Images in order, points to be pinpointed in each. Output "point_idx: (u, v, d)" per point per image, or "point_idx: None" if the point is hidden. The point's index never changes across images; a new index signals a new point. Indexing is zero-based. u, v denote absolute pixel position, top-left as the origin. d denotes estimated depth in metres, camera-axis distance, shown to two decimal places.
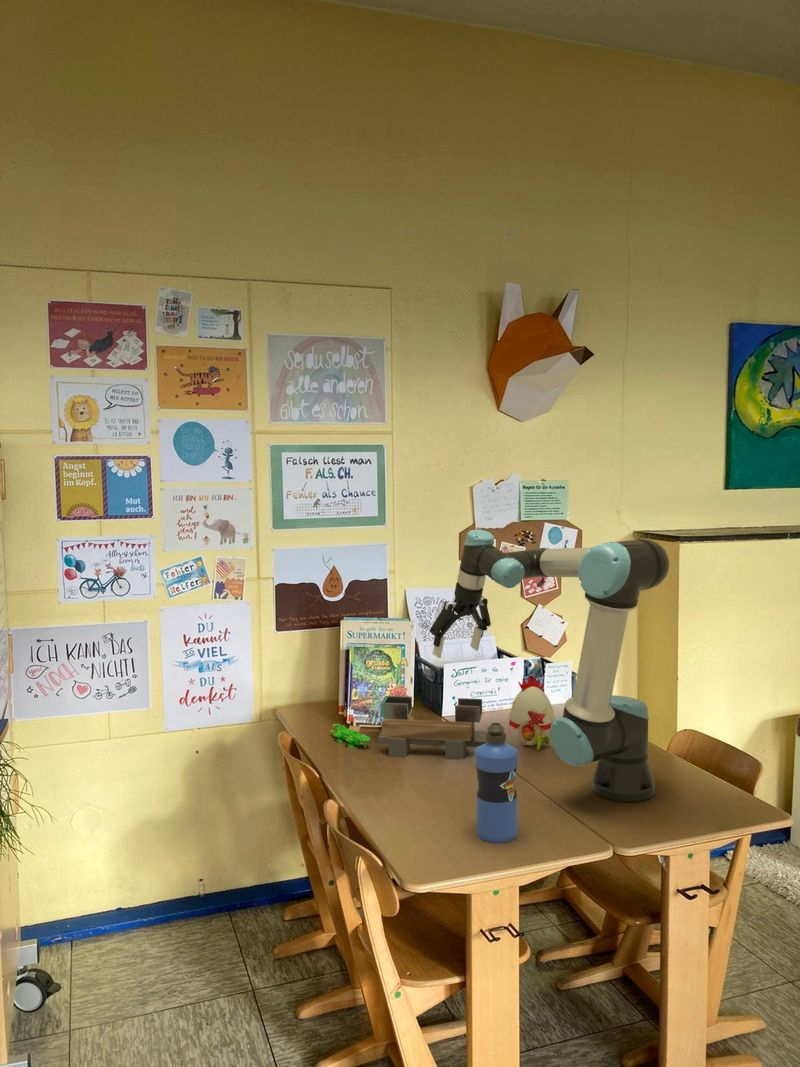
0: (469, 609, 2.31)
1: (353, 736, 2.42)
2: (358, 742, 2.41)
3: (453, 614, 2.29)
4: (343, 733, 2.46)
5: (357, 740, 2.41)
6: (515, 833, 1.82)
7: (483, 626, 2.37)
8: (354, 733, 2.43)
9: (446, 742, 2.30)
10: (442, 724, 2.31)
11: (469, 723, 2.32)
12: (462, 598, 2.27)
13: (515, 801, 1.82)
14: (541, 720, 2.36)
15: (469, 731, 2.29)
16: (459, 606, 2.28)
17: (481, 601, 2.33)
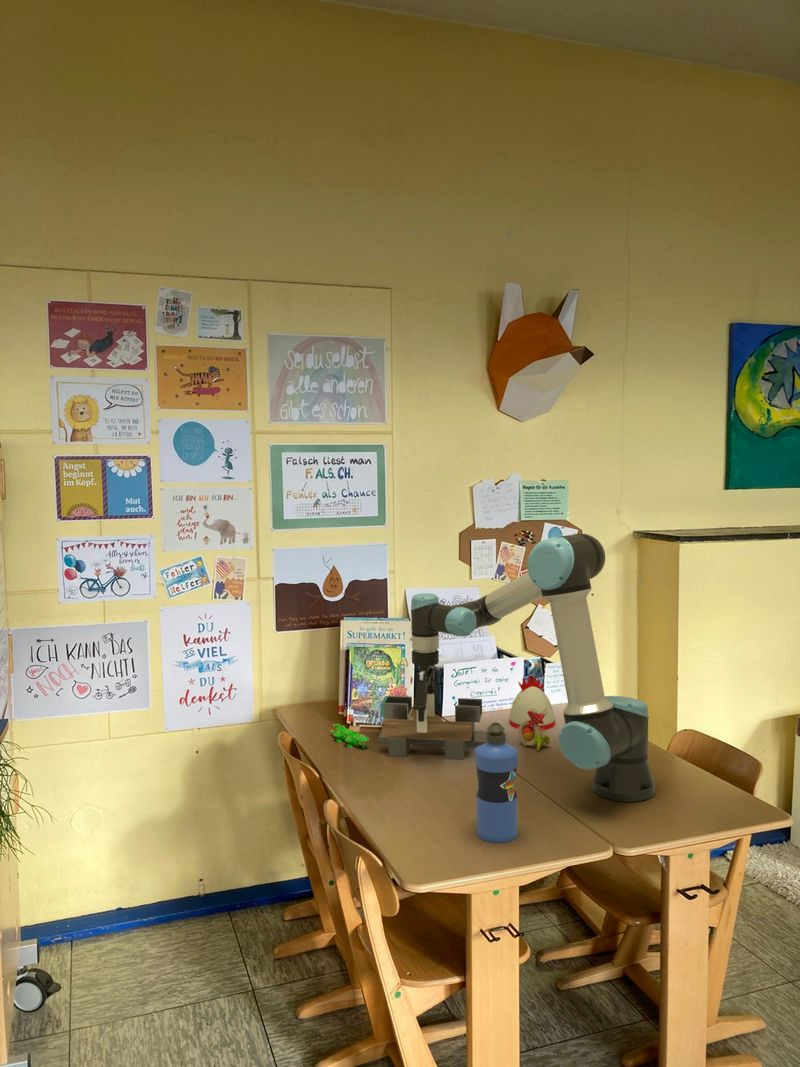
0: None
1: (352, 736, 2.42)
2: (357, 742, 2.41)
3: None
4: (342, 733, 2.46)
5: (356, 740, 2.40)
6: (515, 833, 1.82)
7: (433, 689, 2.40)
8: (353, 733, 2.43)
9: (446, 742, 2.30)
10: (442, 724, 2.31)
11: (469, 723, 2.32)
12: (429, 663, 2.28)
13: (515, 801, 1.82)
14: (541, 720, 2.36)
15: (469, 731, 2.29)
16: (427, 673, 2.28)
17: None
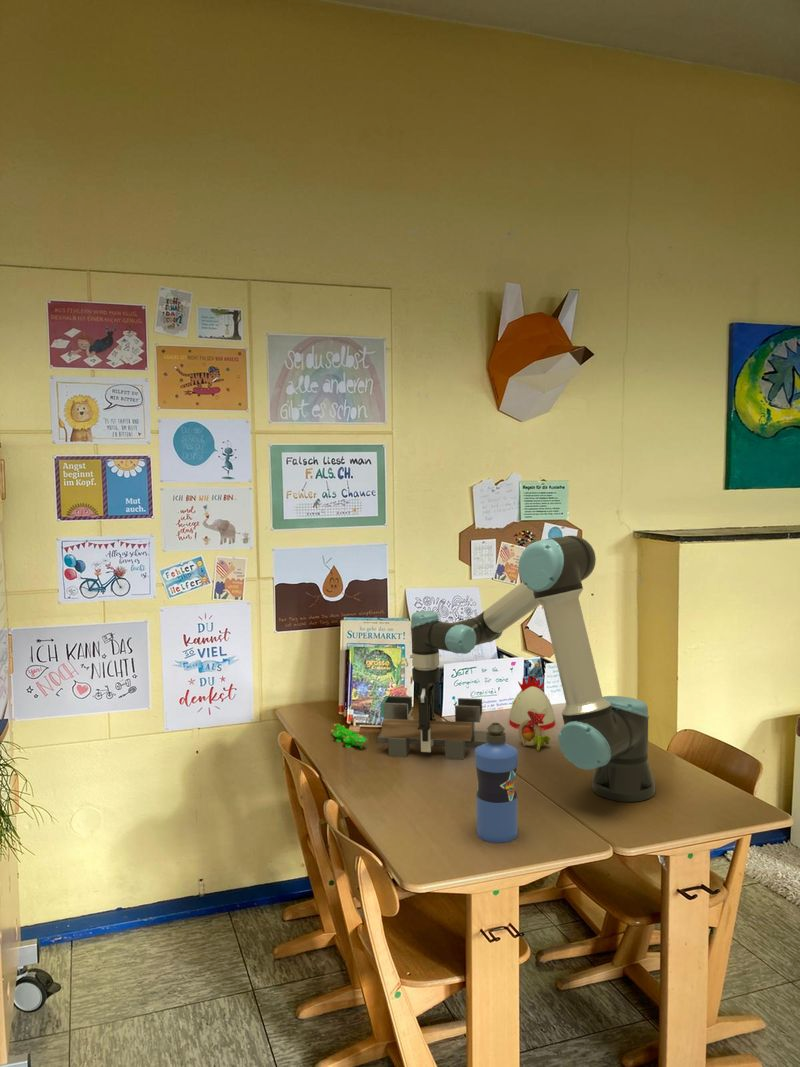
0: None
1: (350, 736, 2.41)
2: (355, 743, 2.40)
3: None
4: (342, 733, 2.46)
5: (354, 741, 2.40)
6: (515, 833, 1.82)
7: (432, 718, 2.36)
8: (352, 734, 2.42)
9: (446, 742, 2.30)
10: (442, 724, 2.31)
11: (469, 723, 2.32)
12: (429, 681, 2.28)
13: (515, 801, 1.82)
14: (541, 720, 2.36)
15: (469, 731, 2.29)
16: (428, 690, 2.29)
17: None
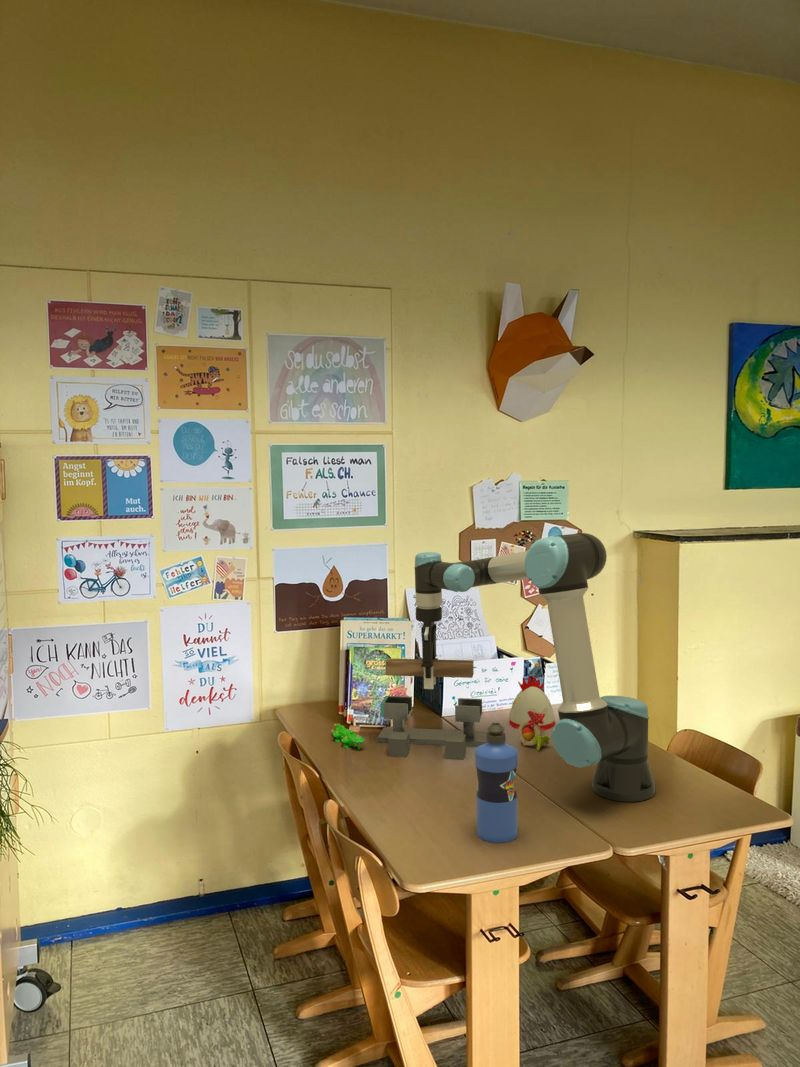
0: None
1: (348, 737, 2.41)
2: (353, 743, 2.40)
3: None
4: (341, 733, 2.45)
5: (352, 741, 2.40)
6: (515, 833, 1.82)
7: None
8: (350, 734, 2.42)
9: (446, 742, 2.30)
10: (444, 662, 2.38)
11: (470, 661, 2.39)
12: (432, 619, 2.35)
13: (515, 801, 1.82)
14: (541, 720, 2.36)
15: (471, 668, 2.36)
16: (431, 628, 2.36)
17: None
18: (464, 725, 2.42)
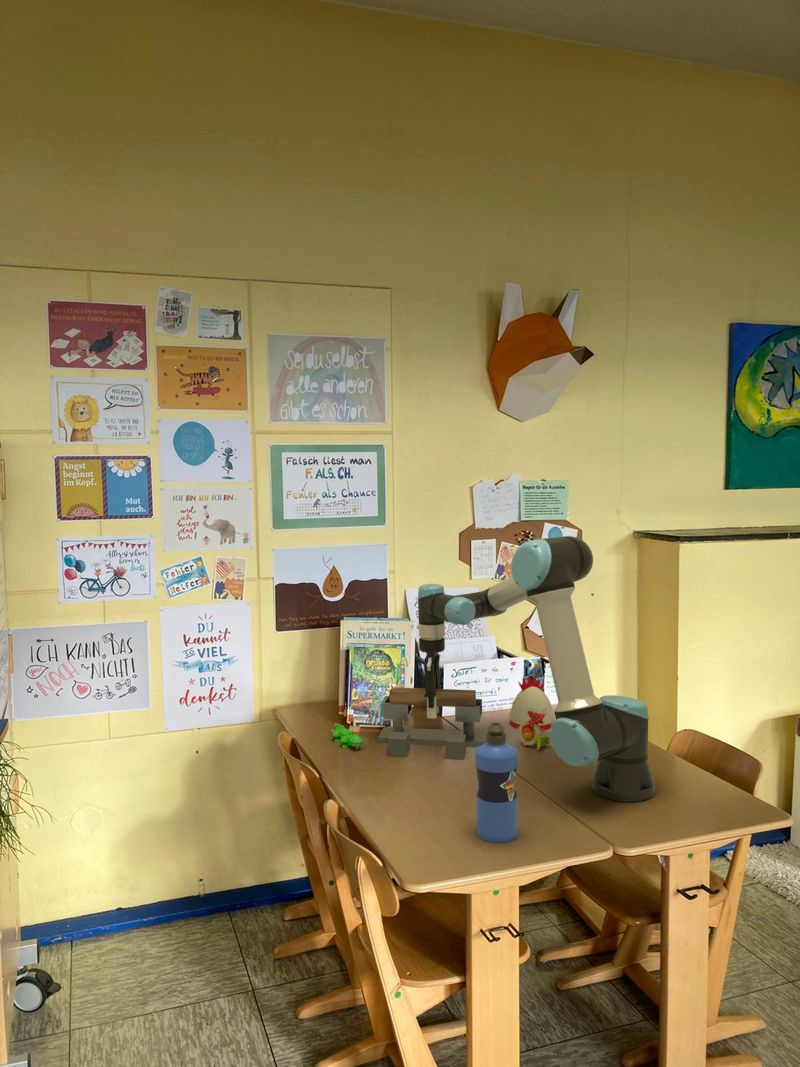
0: None
1: (347, 737, 2.41)
2: (351, 743, 2.40)
3: None
4: (340, 733, 2.46)
5: (350, 741, 2.40)
6: (515, 833, 1.82)
7: (438, 686, 2.47)
8: (349, 734, 2.42)
9: (446, 742, 2.30)
10: (447, 692, 2.43)
11: (473, 691, 2.43)
12: (435, 650, 2.40)
13: (515, 801, 1.82)
14: (541, 720, 2.36)
15: (473, 698, 2.40)
16: (434, 659, 2.40)
17: None
18: (464, 725, 2.42)
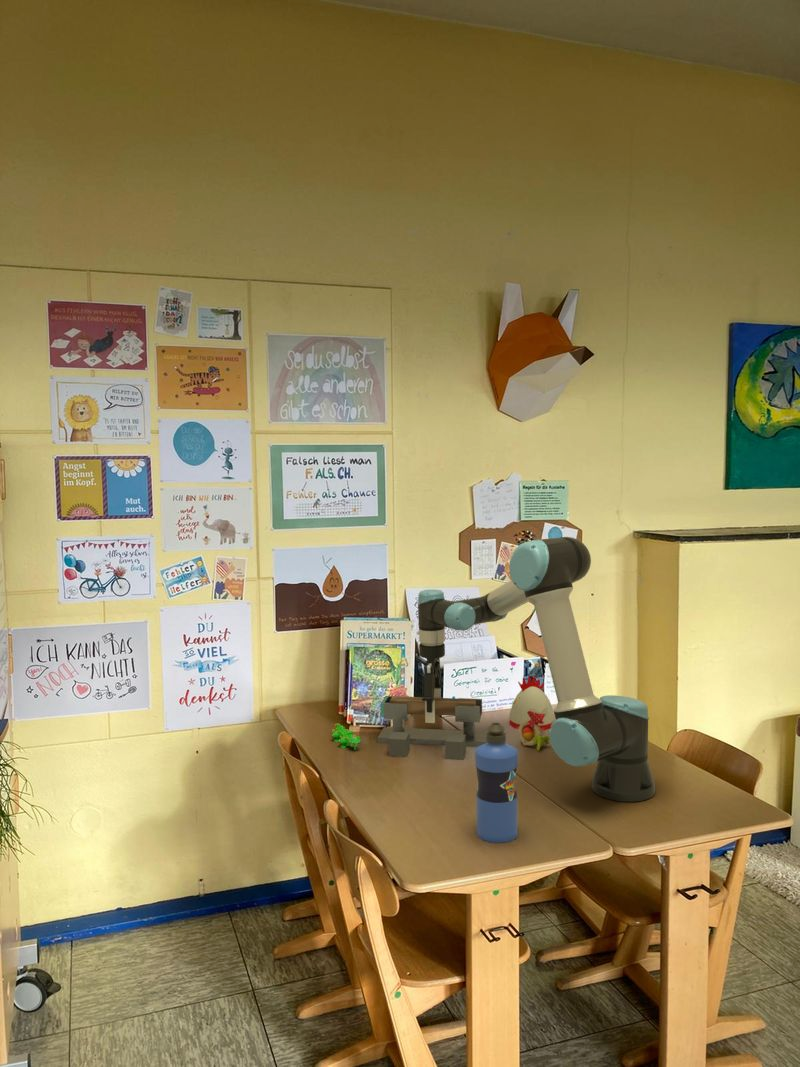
0: None
1: (346, 737, 2.41)
2: (349, 744, 2.40)
3: None
4: (339, 733, 2.46)
5: (348, 742, 2.40)
6: (515, 833, 1.82)
7: (440, 684, 2.50)
8: (347, 734, 2.42)
9: (446, 742, 2.30)
10: (448, 701, 2.43)
11: (473, 700, 2.43)
12: (435, 656, 2.40)
13: (515, 801, 1.82)
14: (541, 720, 2.36)
15: None
16: (434, 665, 2.40)
17: None
18: (464, 725, 2.42)
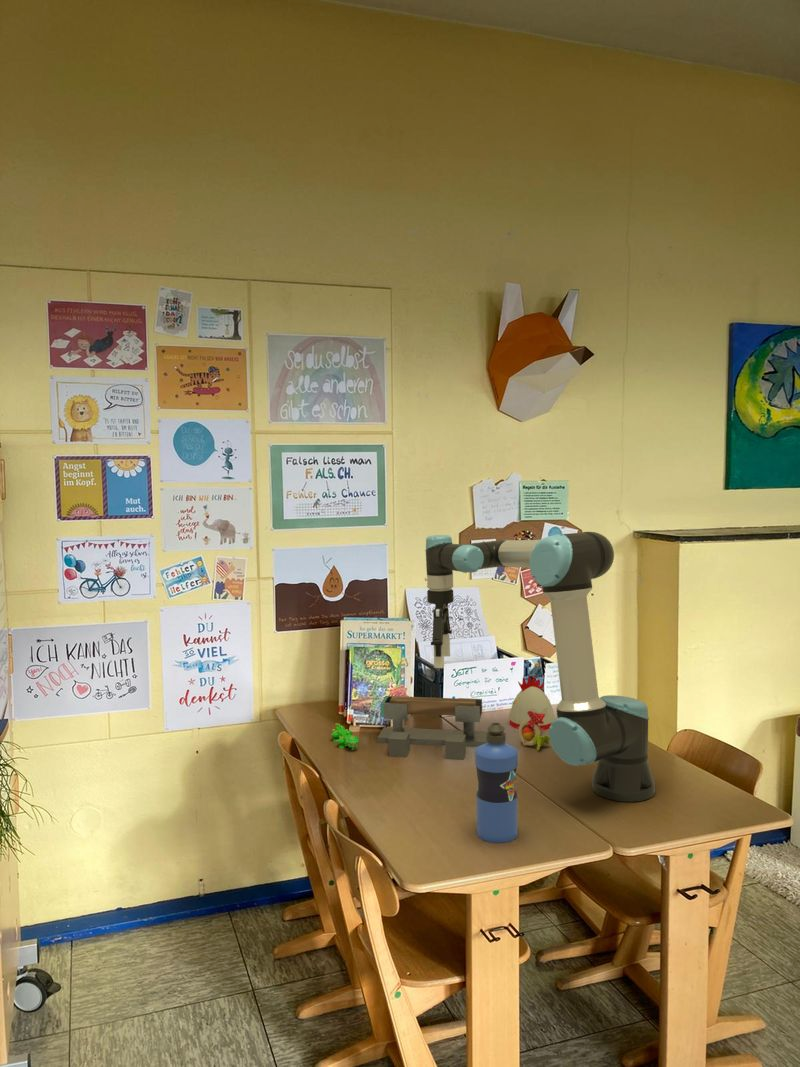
0: None
1: (344, 737, 2.41)
2: (347, 744, 2.40)
3: None
4: (338, 733, 2.46)
5: (346, 742, 2.40)
6: (515, 833, 1.82)
7: (449, 630, 2.48)
8: (346, 734, 2.42)
9: (446, 742, 2.30)
10: (448, 701, 2.43)
11: (473, 700, 2.43)
12: (444, 601, 2.36)
13: (515, 801, 1.82)
14: (541, 720, 2.36)
15: None
16: (443, 610, 2.37)
17: None
18: (464, 725, 2.42)
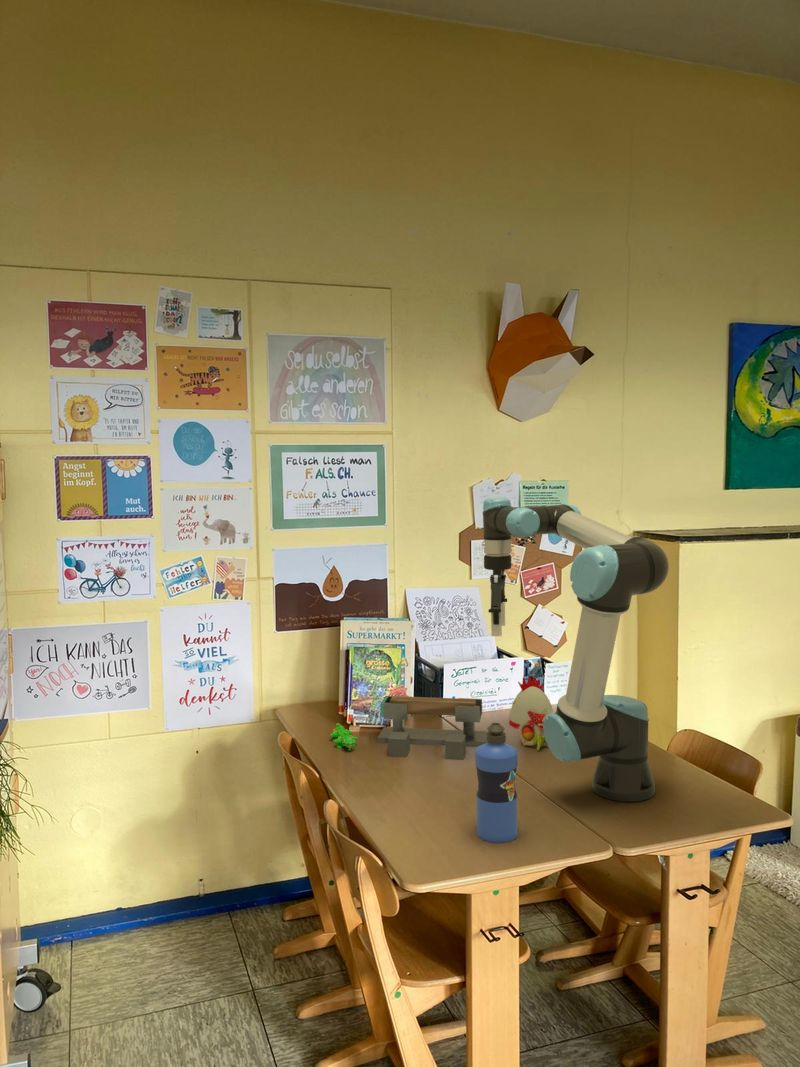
0: None
1: (342, 737, 2.41)
2: (345, 744, 2.39)
3: None
4: (337, 733, 2.46)
5: (344, 742, 2.39)
6: (515, 833, 1.82)
7: (504, 598, 2.37)
8: (344, 734, 2.42)
9: (446, 742, 2.30)
10: (448, 701, 2.43)
11: (473, 700, 2.43)
12: (502, 567, 2.25)
13: (515, 801, 1.82)
14: (541, 720, 2.36)
15: None
16: None
17: None
18: (464, 725, 2.42)
